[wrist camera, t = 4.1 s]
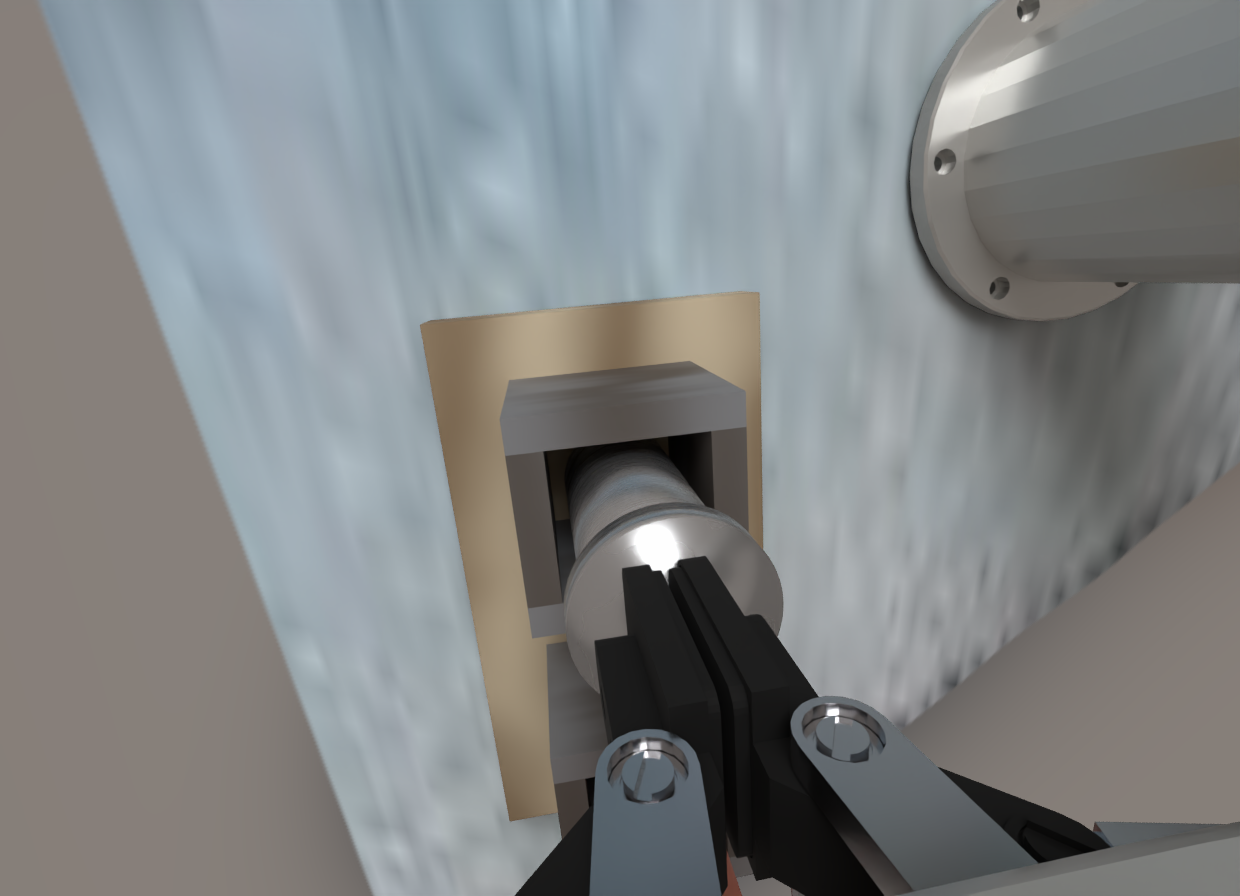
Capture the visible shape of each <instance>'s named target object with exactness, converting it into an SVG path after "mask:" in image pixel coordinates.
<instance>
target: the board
mask: <svg viewBox="0 0 1240 896" xmlns="http://www.w3.org/2000/svg"><path fill="white" fill-rule="evenodd" d="M420 328H421V333H422V339H423V344H424V350H425V355H426V361H427V366H428V372H429V377H430V383H431V388H432V394H433V400H434V405H435V411H436V416H437V422H438V427H439V433H440V438H441V444H442V449H443V455H444V460H445V466H446V471H447V477H448V482H449V488H450V494H451V499H452V505H453V510H454V516H455V521H456V527H457V532H458V538H459V543H460V549H461V554H462V560H463V565H464V571H465V576H466V582H467V588H468V593H469V599H470V604H471V610H472V615H473V621H474V626H475V632H476V637H477V643H478V648H479V654H480V659H481V665H482V670H483V676H484V682H485V687H486V693H487V698H488V704H489V709H490V715H491V720H492V726H493V731H494V737H495V742H496V748H497V753H498V759H499V764H500V770H501V776H502V781H503V787H504V792H505V798H506V803H507V809H508V814H509V820H510V821H515V820H520V819H526V818H531V817H536V816H542V815H547V814H552V813H557V812H558V816H559V822H560V829H561V836H562V839H563V838H564V837H565V836H566V835H567V833H568V832H569V831H570V830H571V829H572V828H573V826H574V825H575V824H576V823H577V822H578V820H579V819H580V818H581V817H582V816H583V815H584V813H585V812H586V811H587V810H588V809H589V807H590V806H591V805H592V804H593V803H594V792H595V772H596V767H597V763H598V759H599V757H600V756H601V754H602V753H603V751H604V750H605V748H606V747H607V746H608V741H607V735H606V729H605V723H604V717H603V711H602V704H601V697H600V694H599V693H598V692H596V691H595V690H594V689H593V688H592V687H591V686H590V685H589V684H588V683H587V682H586V681H585V679H584V678H583V677H582V676H581V674H580V673H579V671H578V669H577V668H576V666H575V664H574V662H573V660H572V657H571V654H570V652H569V648H568V643H567V638H566V627H565V616H564V596H565V589H566V585H567V580H568V577H569V574H570V572H571V569H572V567H573V565H574V563H575V561H576V557H575V550H574V543H573V537H572V530H571V523H570V516H569V509H568V503H567V496H566V489H565V480H564V475H565V467H566V463H567V461H568V458H569V456H570V454H571V452H572V450H573V449H574V448H575V447H584V446H592V445H600V444H608V443H617V442H625V441H633V440H642V439H650V438H654V439H655V440H656V441H657V442H658V444H659V445H660V446H661V447H662V449H663V450H664V451H665V453H666V454H667V455H668V457H669V458H670V459H671V461H672V462H673V463H674V465H675V466H676V468H677V469H678V470H679V472H680V473H681V474H682V476H683V477H684V478H685V480H686V481H687V482H688V484H689V485H690V486H691V488H692V489H693V490H694V492H695V493H696V494H697V496H698V497H699V498H700V500H701V501H702V502H703V504H704V505H705V506H707V507H710V508H713V509H716V510H718V511H720V512H722V513H724V514H726V515H728V516H729V517H731V518H732V519H734V520H735V521H737V522H738V523H739V524H740V525H741V526H742V527H743V528H745V529H746V530H747V531H748V533H749V534H750V535H751V536H752V537H753V539H754V540H755V541H756V542H757V543H758V545H759V546H760V547H761V548H762V549H763V515H762V442H761V370H760V298H759V292H745V291H738V292H728V293H717V294H706V295H696V296H685V297H674V298H664V299H653V300H643V301H632V302H621V303H611V304H600V305H590V306H579V307H568V308H558V309H547V310H537V311H526V312H515V313H505V314H494V315H483V316H473V317H462V318H452V319H441V320H430V321H428V322H425V323H423V324H421V325H420ZM726 847H727V852H728V855H729V858H730V861H731V864H732V867H733V870H734V873H735V876H736V877H741V876H746V875H751V874H753V871H752V868H751V866H750V863H749V860H748V858H747V857H742V858H736V856H735V854H734V852H733V849H732V847H731V844H730V841H729V838H728V835H727V833H726Z"/></svg>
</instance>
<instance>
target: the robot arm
mask: <svg viewBox="0 0 1240 896" xmlns="http://www.w3.org/2000/svg"><path fill="white" fill-rule="evenodd" d="M910 187H911V202H912V211H913V215H914V219H915V223H916V227H917V231H918V235H919V239H920V241H921V243H922V245H923V248H924V250H925V252H926V254H927V256H928V258H929V260H930V263H931V265H932V266H933V267H934V269H935V270H936V271H937V273H938V274H939V275H940V277H941V278H942V279H943V281H944V282H945V283H946V285H947V286H948V287H949V288H950V289H952V290H953V291H954V292H955V293H956V294H958V295H959V296H960V297H961V298H962V299H964V300H965V301H966V302H967V303H969V304H971V305H973V306H975V307H977V308H979V309H981V310H983V311H985V312H987V313H989V314H993V315H997V316H1001V317H1006V318H1010V319H1016V320H1032V321H1051V320H1060V319H1069V318H1072V317H1075V316H1078V315H1081V314H1085V313H1088V312H1091V311H1094V310H1096V309H1098V308H1100V307H1102V306H1104V305H1106V304H1108V303H1110V302H1111V301H1113V300H1115V299H1117V298H1119V297H1121V296H1122V295H1123V294H1125V293H1126V292H1127V291H1129V290H1130V289H1131V288H1133V287H1134V286H1135V285H1137V284H1138V283H1234V284H1240V0H997V1H995V2H994V3H993V4H992V5H990V6H989V7H988V8H987V9H985V10H984V11H983V12H982V13H981V14H980V15H979V16H978V17H977V18H976V19H975V20H974V21H973V23H972V24H971V25H970V26H969V27H968V28H967V29H966V31H965V32H964V33H963V34H962V35H961V36H960V37H959V39H958V40H957V41H956V42H955V44H954V46H953V47H952V49H951V50H950V52H949V54H948V55H947V57H946V58H945V60H944V62H943V63H942V65H941V66H940V68H939V70H938V71H937V73H936V75H935V78H934V80H933V82H932V85H931V87H930V89H929V92H928V94H927V96H926V99H925V101H924V103H923V106H922V109H921V113H920V117H919V120H918V124H917V128H916V132H915V136H914V140H913V147H912V158H911V168H910ZM622 581H623V592H624V602H625V613H626V624H627V635H625V636H619V637H613V638H607V639H600V640H594V645H595V655H596V664H597V673H598V681H599V689H600V697H601V704H602V711H603V717H604V723H605V729H606V735H607V741H608V746H607V747H606V748H605V750H604V751H603V753H602V754H601V756H600V757H599V759H598V763H597V767H596V772H595V792H594V803H593V804H592V805H591V806H590V807H589V809H588V810H587V811H586V812H585V813H584V815H583V816H582V817H581V818H580V819H579V820H578V822H577V823H576V824H575V825H574V826H573V828H572V829H571V830H570V831H569V832H568V833H567V835H566V836H565V837H564V838H563V839H562V840H561V842H560V843H559V844H558V845H557V846H556V848H555V849H554V850H553V851H552V852H551V853H550V855H549V856H548V857H547V858H546V859H545V860H544V862H543V863H542V864H541V865H540V866H539V868H538V869H537V870H536V871H535V872H534V873H533V875H532V876H531V877H530V878H529V879H528V881H527V882H526V883H525V884H524V885H523V886H522V888H521V889H520V890H519V891H518V892H517V893H516V895H515V896H723V894H724V892H725V890H726V888H727V886H728V879H727V847H726V833H727V835H728V838H729V841H730V844H731V847H732V849H733V852H734V854H735V856H736V858H742V857H747V858H748V860H749V863H750V866H751V868H752V871H753V874H754V876H755V879H756V881H758V880H762V879H767V878H771V877H773V878H775V879H776V880H778V881H780V882H782V883H783V884H785V885H787V886H789V887H790V888H791V894H792V896H1240V822H1235V823H1230V824H1183V823H1181V824H1180V823H1132V822H1095V824H1094V829H1093V831H1091V830H1089V829H1088V828H1086V827H1085V826H1084V825H1082V824H1081V823H1079V822H1077V821H1074V820H1072V819H1070V818H1068V817H1066V816H1064V815H1062V814H1060V813H1057V812H1055V811H1052V810H1050V809H1047V808H1044V807H1042V806H1039V805H1036V804H1034V803H1031V802H1028V801H1026V800H1023V799H1021V798H1018V797H1015V796H1013V795H1010V794H1007V793H1005V792H1002V791H1000V790H997V789H994V788H992V787H989V786H986V785H984V784H981V783H979V782H976V781H973V780H971V779H968V778H966V777H963V776H960V775H958V774H955V773H953V772H950V771H947V770H944V769H942V768H939V767H937V766H936V765H935V764H934V763H933V762H932V761H931V760H930V759H928V758H927V757H926V756H925V755H924V754H923V753H922V752H921V751H920V750H919V749H918V748H917V747H916V746H915V745H914V744H913V743H912V742H911V741H909V739H908V738H906V737H905V736H904V735H903V734H902V733H901V732H900V731H899V730H898V729H897V728H896V727H895V726H894V725H893V724H892V723H891V722H890V721H889V720H888V719H887V718H886V717H884V716H883V715H882V714H880V713H879V712H878V711H876V710H875V709H874V708H872V707H870V706H868V705H866V704H864V703H862V702H860V701H857V700H853V699H849V698H845V697H838V696H823V697H818V695H817V694H816V692H815V691H814V689H813V688H812V687H811V685H810V684H809V682H808V681H807V679H806V678H805V676H804V675H803V674H802V672H801V671H800V669H799V668H798V666H797V665H796V664H795V662H794V661H793V659H792V658H791V656H790V655H789V653H788V652H787V651H786V649H785V648H784V646H783V645H782V643H781V642H780V640H779V639H778V638H777V636H776V635H775V633H774V632H773V630H772V629H771V627H770V626H769V625H768V623H767V622H766V620H765V619H764V618H763V617H762V616H761V615H759V614H754V615H748V616H744V614H743V613H742V611H741V609H740V608H739V606H738V605H737V603H736V602H735V600H734V598H733V597H732V595H731V594H730V592H729V591H728V589H727V588H726V586H725V584H724V583H723V581H722V580H721V578H720V577H719V575H718V574H717V572H716V570H715V569H714V567H713V566H712V564H711V563H710V561H709V560H708V558H707V557H706V556H700V557H693V558H687V559H680V560H678V562H677V567H675V568H669V586H668V583H667V581H666V579H665V577H664V575H663V573H662V571H661V570H655V571H652V568H651V566H650V564H646V565H640V566H633V567H626V568H622Z"/></svg>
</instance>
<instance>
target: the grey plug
mask: <svg viewBox="0 0 1240 896" xmlns="http://www.w3.org/2000/svg"><path fill="white" fill-rule="evenodd" d="M564 480H565V489H566V496H567V503H568V509H569V516H570V523H571V530H572V537H573V543H574V550H575V557H576V561H575V563H574V565H573V567H572V569H571V572H570V574H569V577H568V580H567V585H566V589H565V596H564V616H565V627H566V638H567V643H568V648H569V652H570V654H571V657H572V660H573V662H574V664H575V666H576V668H577V669H578V671H579V673H580V674H581V676H582V677H583V678H584V679H585V681H586V682H587V683H588V684H589V685H590V686H591V687H592V688H593V689H594V690H595V691H596V692H598V693H599V694H600V689H599V681H598V673H597V664H596V655H595V645H594V640H600V639H607V638H613V637H619V636H625V635H627V624H626V613H625V602H624V592H623V581H622V568H626V567H633V566H640V565H646V564H650V566H651V568H652V571H655V570H661V571H662V573H663V575H664V577H665V579H666V581H667V583H668V586H669V568H675V567H677V562H678V560H680V559H687V558H693V557H700V556H706V557H707V558H708V560H709V561H710V563H711V564H712V566H713V567H714V569H715V570H716V572H717V574H718V575H719V577H720V578H721V580H722V581H723V583H724V584H725V586H726V588H727V589H728V591H729V592H730V594H731V595H732V597H733V598H734V600H735V602H736V603H737V605H738V606H739V608H740V609H741V611H742V613H743V614H744V616H748V615H754V614H759V615H761V616H762V617H763V618H764V619H765V620H766V622H767V623H768V625H769V626H770V627H771V629H772V630H773V632H774V633H775V635H776V636H778V633H779V630H780V627H781V622H782V617H783V592H782V587H781V583H780V579H779V577H778V574H777V571H776V569H775V567H774V565H773V564H772V562H771V560H770V558H769V557H768V556H767V554H766V553H765V552H764V551H763V549H762V548H761V547H760V546H759V545H758V543H757V542H756V541H755V540H754V539H753V537H752V536H751V535H750V534H749V533H748V531H747V530H746V529H745V528H743V527H742V526H741V525H740V524H739V523H738V522H737V521H735V520H734V519H732V518H731V517H729V516H728V515H726V514H724V513H722V512H720V511H718V510H716V509H713V508H710V507H707V506H705V505H704V504H703V502H702V501H701V500H700V498H699V497H698V496H697V494H696V493H695V492H694V490H693V489H692V488H691V486H690V485H689V484H688V482H687V481H686V480H685V478H684V477H683V476H682V474H681V473H680V472H679V470H678V469H677V468H676V466H675V465H674V463H673V462H672V461H671V459H670V458H669V457H668V455H667V454H666V453H665V451H664V450H663V449H662V447H661V446H660V445H659V444H658V442H657V441H656V440H655V439H654V438H650V439H642V440H633V441H625V442H617V443H608V444H600V445H592V446H584V447H575V448H574V449H573V450H572V452H571V454H570V456H569V458H568V461H567V463H566V467H565V475H564Z"/></svg>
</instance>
